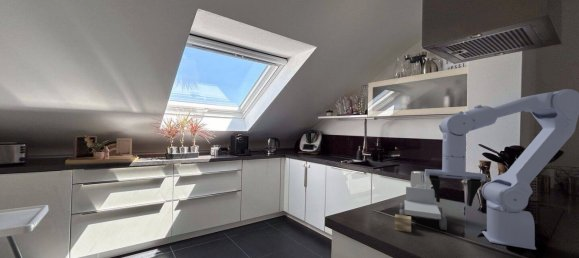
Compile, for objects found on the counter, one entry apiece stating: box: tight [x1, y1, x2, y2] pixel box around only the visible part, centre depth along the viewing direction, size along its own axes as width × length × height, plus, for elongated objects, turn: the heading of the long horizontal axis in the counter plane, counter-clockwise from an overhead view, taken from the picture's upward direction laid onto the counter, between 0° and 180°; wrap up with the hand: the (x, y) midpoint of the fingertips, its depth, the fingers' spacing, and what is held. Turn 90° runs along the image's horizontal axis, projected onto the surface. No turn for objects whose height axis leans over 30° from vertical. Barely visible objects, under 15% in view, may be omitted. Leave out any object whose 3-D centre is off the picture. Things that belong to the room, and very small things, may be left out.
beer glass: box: [410, 170, 432, 189], centre depth 93 cm, size 7×7×15 cm
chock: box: [394, 214, 412, 233], centre depth 76 cm, size 4×5×4 cm
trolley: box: [399, 186, 448, 231], centre depth 82 cm, size 13×13×10 cm
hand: (453, 203), depth 71 cm, fingers open, 7 cm apart
